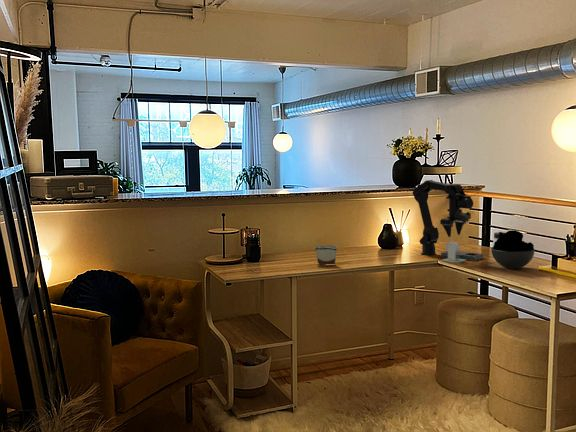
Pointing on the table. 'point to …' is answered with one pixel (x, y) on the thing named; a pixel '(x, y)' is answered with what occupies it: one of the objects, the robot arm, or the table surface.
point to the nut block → (453, 252)
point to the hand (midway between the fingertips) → (454, 235)
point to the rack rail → (466, 255)
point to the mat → (454, 261)
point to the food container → (326, 254)
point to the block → (450, 244)
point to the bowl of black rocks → (512, 250)
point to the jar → (496, 237)
